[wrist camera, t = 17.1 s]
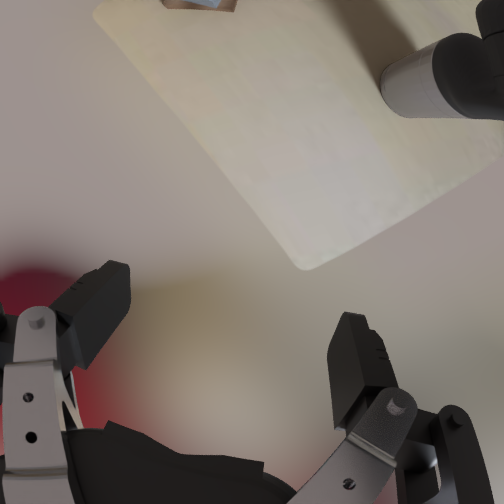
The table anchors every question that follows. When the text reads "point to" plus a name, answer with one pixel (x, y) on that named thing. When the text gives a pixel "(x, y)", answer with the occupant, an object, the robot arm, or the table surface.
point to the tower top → (206, 2)
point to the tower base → (226, 4)
